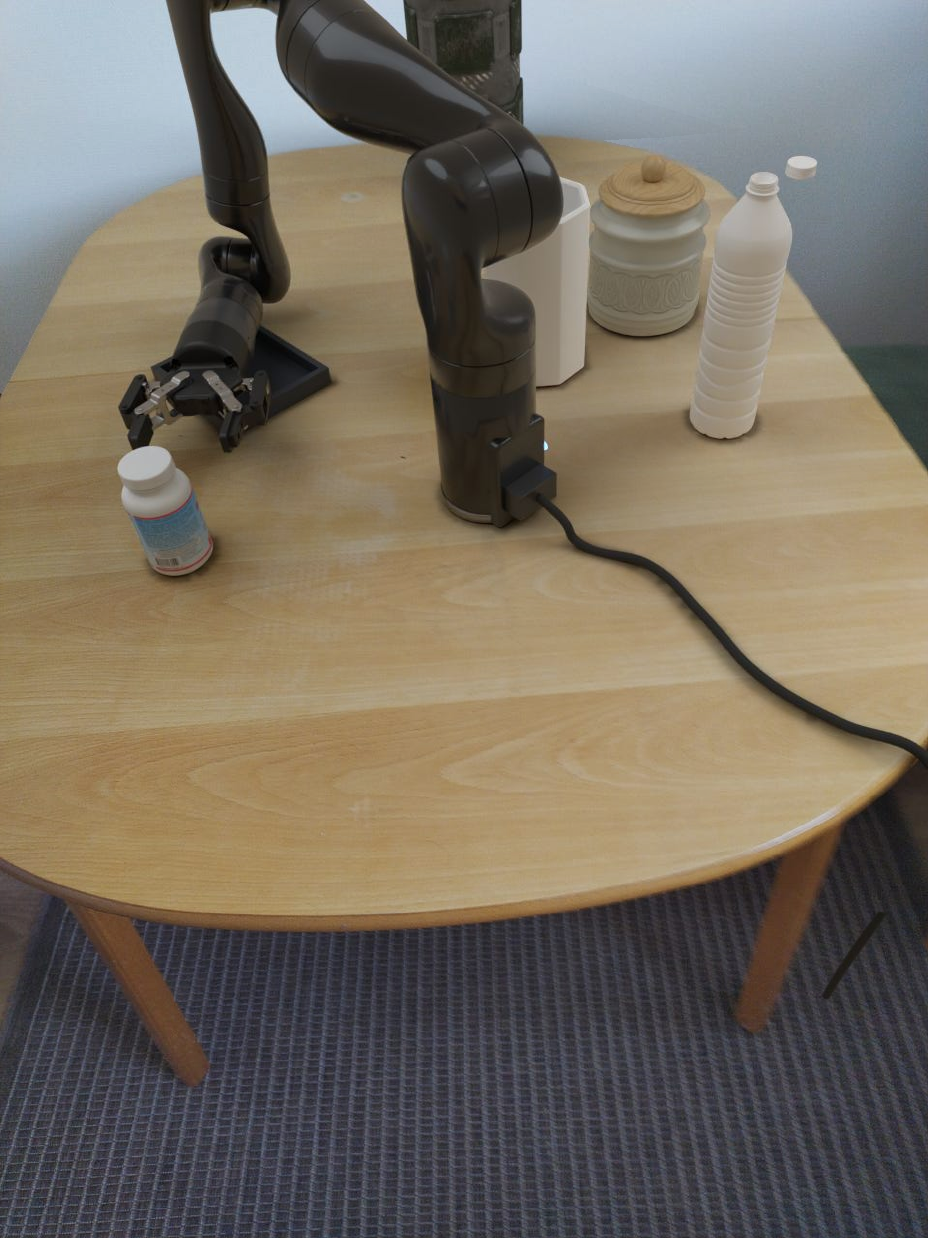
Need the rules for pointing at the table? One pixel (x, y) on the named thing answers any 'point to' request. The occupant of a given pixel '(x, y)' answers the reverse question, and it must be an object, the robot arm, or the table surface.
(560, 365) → the cup
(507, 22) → the canister
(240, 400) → the tray
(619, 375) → the table surface
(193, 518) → the pill bottle
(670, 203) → the jar
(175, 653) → the table surface
